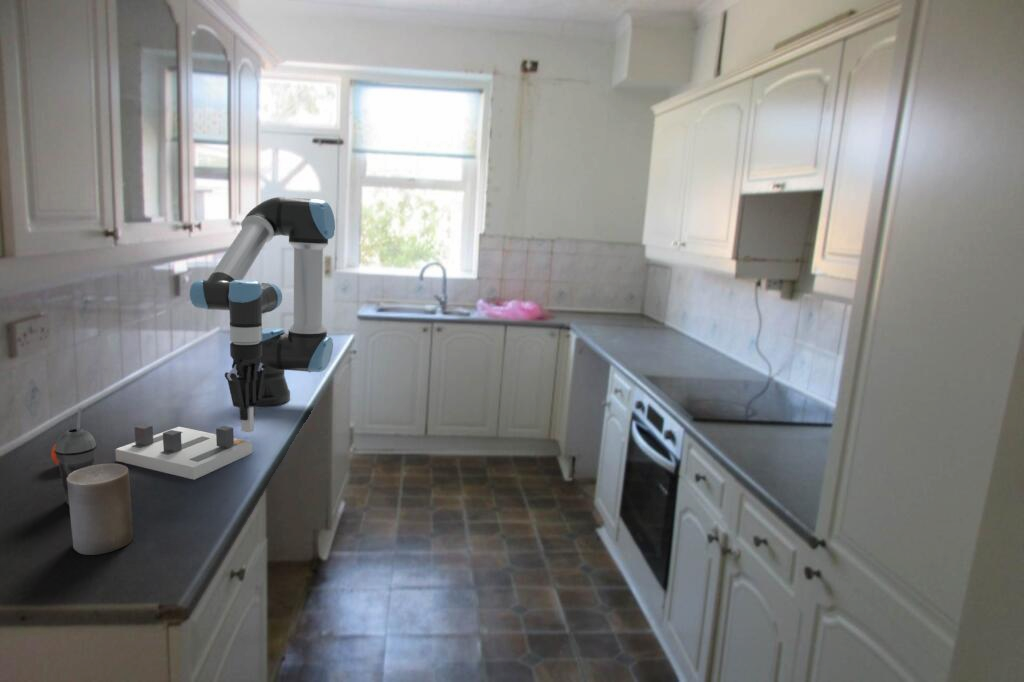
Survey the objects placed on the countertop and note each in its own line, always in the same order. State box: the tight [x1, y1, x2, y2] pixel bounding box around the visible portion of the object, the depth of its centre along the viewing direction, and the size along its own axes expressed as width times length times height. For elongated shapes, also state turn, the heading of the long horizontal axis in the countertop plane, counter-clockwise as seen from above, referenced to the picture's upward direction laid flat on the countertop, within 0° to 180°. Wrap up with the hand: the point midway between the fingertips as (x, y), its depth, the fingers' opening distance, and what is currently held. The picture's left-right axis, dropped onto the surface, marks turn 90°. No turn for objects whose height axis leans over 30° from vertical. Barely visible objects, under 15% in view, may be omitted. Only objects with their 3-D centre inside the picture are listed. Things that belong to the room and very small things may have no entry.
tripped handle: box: [215, 425, 235, 448], centre depth 162 cm, size 2×3×4 cm
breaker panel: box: [115, 423, 253, 481], centre depth 162 cm, size 19×24×8 cm
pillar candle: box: [66, 463, 135, 556], centre depth 120 cm, size 10×10×15 cm
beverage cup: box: [54, 407, 98, 506], centre depth 135 cm, size 7×7×20 cm
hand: (247, 430), depth 170 cm, fingers closed
